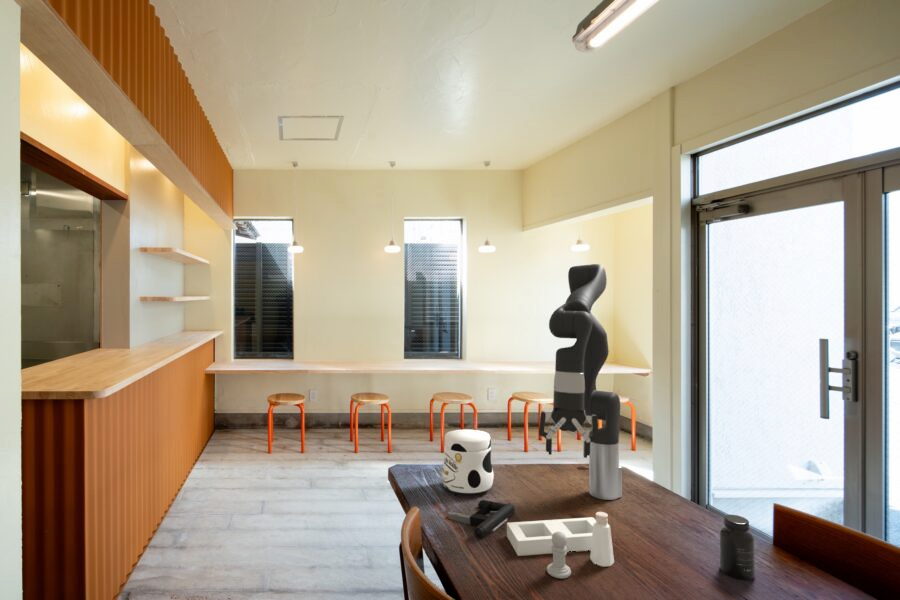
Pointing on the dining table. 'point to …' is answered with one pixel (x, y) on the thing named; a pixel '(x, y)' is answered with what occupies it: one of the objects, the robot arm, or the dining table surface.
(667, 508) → the dining table surface
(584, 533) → the rail
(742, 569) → the supplement bottle
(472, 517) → the door handle
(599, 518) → the salt shaker
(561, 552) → the chess piece
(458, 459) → the milk container
